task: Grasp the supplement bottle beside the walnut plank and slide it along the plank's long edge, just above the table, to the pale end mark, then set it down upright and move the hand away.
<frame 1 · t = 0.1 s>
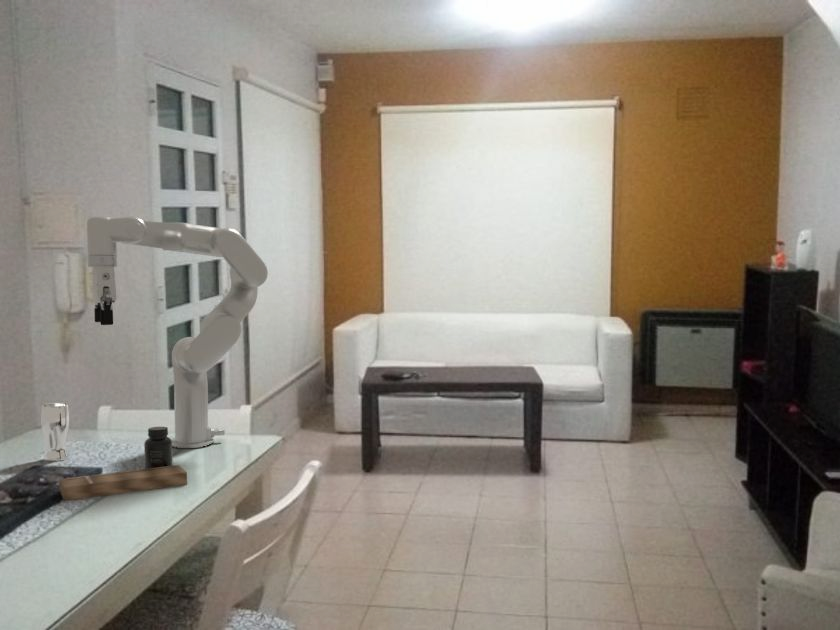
hand: (103, 323, 235), 37 cm above the table, tool pointing down, fingers open, 9 cm apart
beer glass: (56, 459, 232), on the table
supplement bottle: (158, 475, 216), on the table
walnut plank: (124, 487, 204), on the table
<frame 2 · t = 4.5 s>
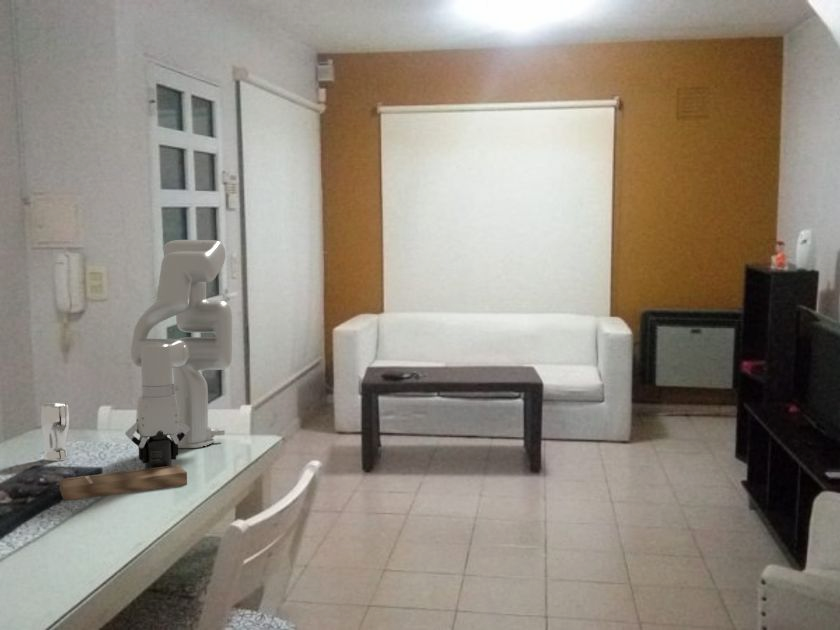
hand: (158, 459, 216), 4 cm above the table, tool pointing down, fingers closed on supplement bottle, 6 cm apart
supplement bottle: (158, 475, 216), on the table, touching gripper
everything else where it was.
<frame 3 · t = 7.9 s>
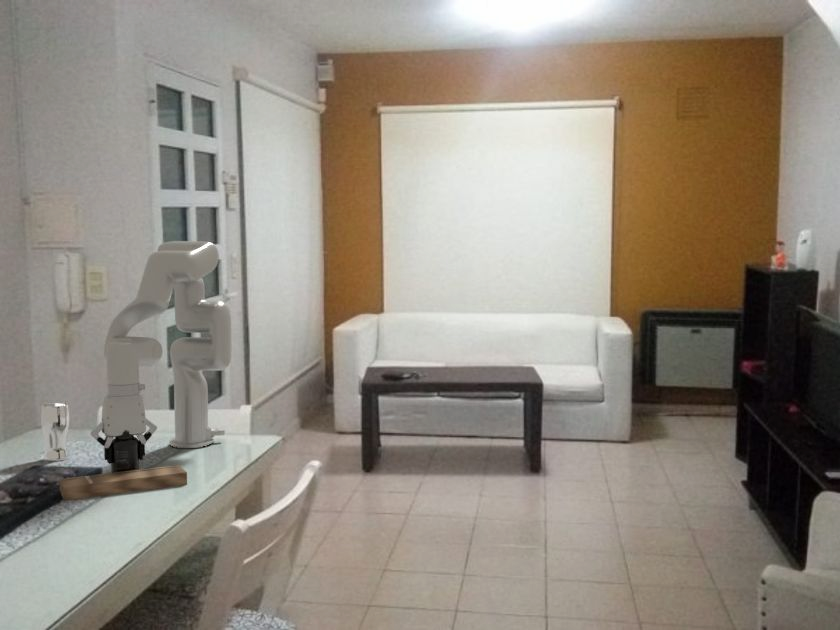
hand: (125, 460, 212), 5 cm above the table, tool pointing down, fingers closed on supplement bottle, 6 cm apart
supplement bottle: (125, 475, 212), point 1 cm above the table, touching gripper
everything else where it was.
when the fingers open (4 cm above the table, at t = 11.5 s): supplement bottle stays where it is, on the table.
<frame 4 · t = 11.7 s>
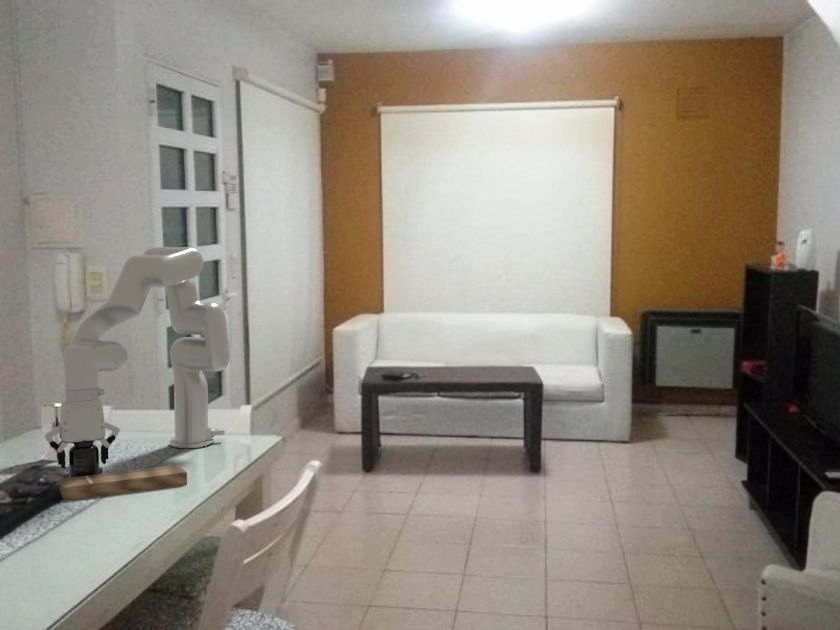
hand: (83, 464, 207), 5 cm above the table, tool pointing down, fingers open, 9 cm apart
supplement bottle: (84, 484, 208), on the table
everything else where it was.
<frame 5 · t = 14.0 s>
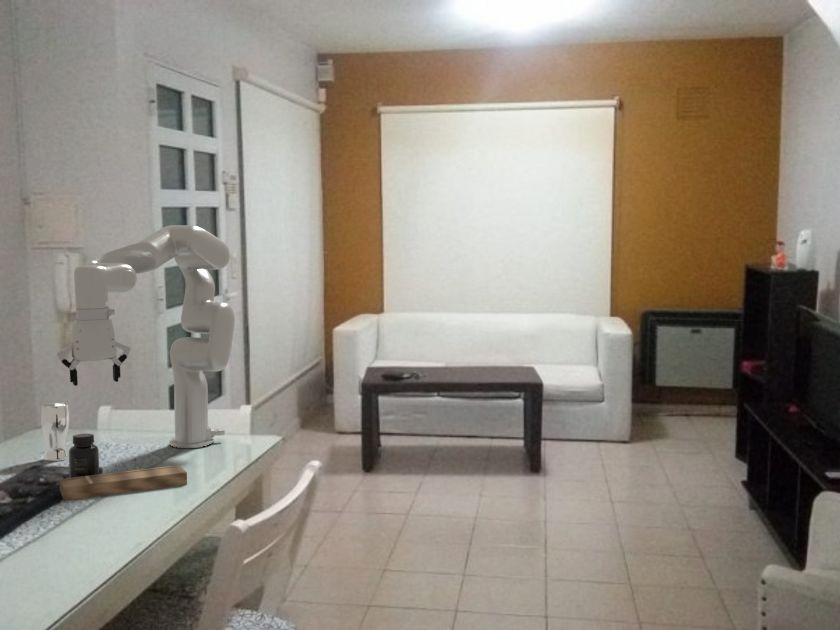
hand: (95, 382, 212), 24 cm above the table, tool pointing down, fingers open, 9 cm apart
nothing on the table moved.
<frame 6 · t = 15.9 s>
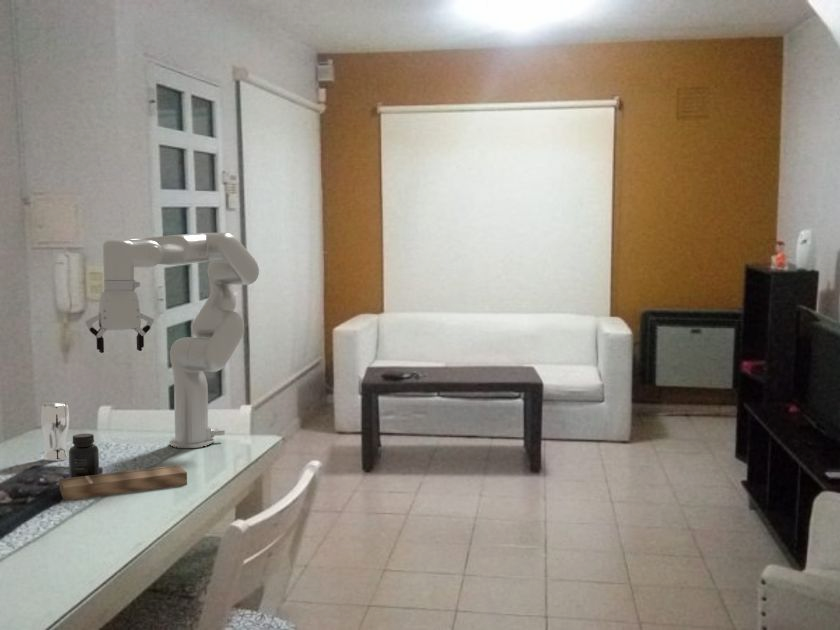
hand: (120, 351, 224), 30 cm above the table, tool pointing down, fingers open, 9 cm apart
nothing on the table moved.
at the end: supplement bottle inside the target area (0.2 cm from its centre), on the table; supplement bottle tilted 0°; the gripper is holding nothing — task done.
